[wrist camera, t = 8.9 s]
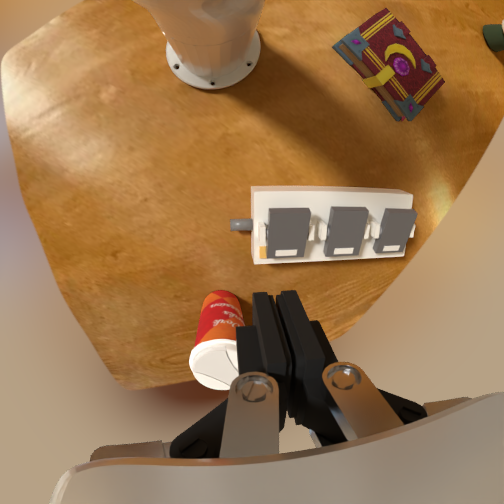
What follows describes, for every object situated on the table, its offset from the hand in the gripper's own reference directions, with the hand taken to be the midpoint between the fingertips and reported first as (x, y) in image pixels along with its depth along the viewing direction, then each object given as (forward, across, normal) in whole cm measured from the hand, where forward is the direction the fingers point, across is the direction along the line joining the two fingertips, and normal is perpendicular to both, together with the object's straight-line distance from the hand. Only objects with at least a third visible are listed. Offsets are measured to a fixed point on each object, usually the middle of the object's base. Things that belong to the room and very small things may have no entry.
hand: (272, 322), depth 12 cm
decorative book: (+32, -23, -20) cm, 44 cm away
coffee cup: (+31, +3, +19) cm, 37 cm away
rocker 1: (+25, -6, +5) cm, 27 cm away
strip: (+31, -12, +5) cm, 34 cm away
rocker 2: (+25, -22, +5) cm, 34 cm away
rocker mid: (+25, -14, +5) cm, 29 cm away
